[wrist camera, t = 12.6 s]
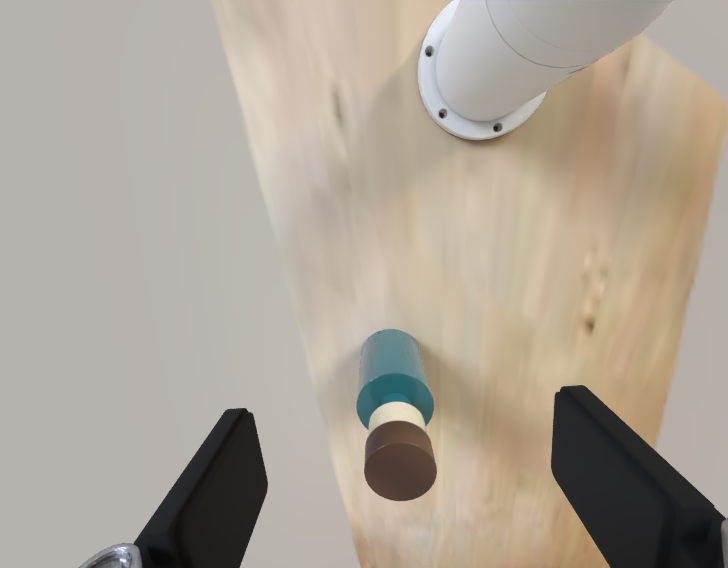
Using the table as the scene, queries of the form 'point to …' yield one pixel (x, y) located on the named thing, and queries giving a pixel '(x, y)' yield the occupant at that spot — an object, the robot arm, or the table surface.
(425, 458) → the brown round puck
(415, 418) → the bottle
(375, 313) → the table surface
